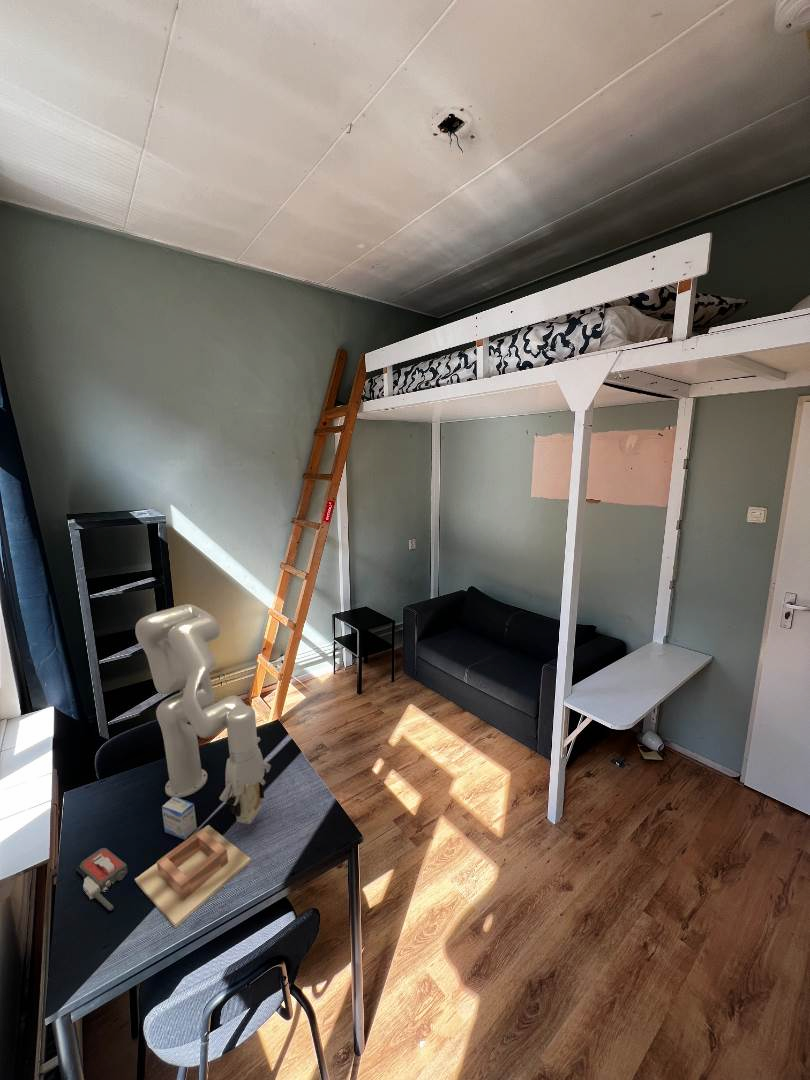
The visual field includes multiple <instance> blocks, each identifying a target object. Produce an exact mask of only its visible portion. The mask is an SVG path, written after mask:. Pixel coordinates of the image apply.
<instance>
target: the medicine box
mask: <svg viewBox="0 0 810 1080" xmlns="http://www.w3.org/2000/svg"><path fill="white" fill-rule="evenodd" d="M161 811H162V818H163V819H162V820H163V826H164V827H163V828H164V833H167V835H171V836H173V837H177V838H179V839H180V840H181V839H182V840H184V841H185V840H187V839H188V838H189V837H190V836H192V835H193V834H192V833H195V831H196V830H197V829H198V826H197V819H196V811H195V803H193V802H190V801H188V800H184V799H182V798H177V797H171V798H170V799H169V800H168V801H166V802H165V804H163V805H162V806H161Z"/></svg>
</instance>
